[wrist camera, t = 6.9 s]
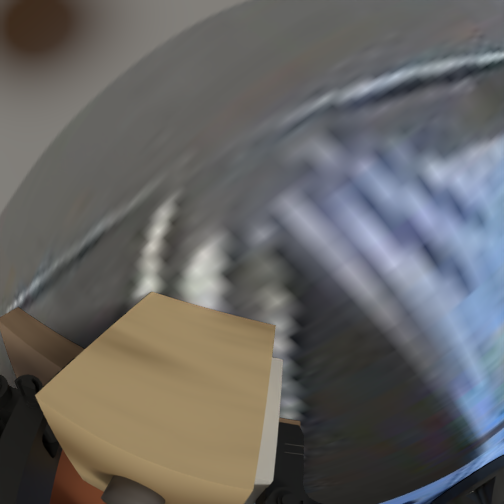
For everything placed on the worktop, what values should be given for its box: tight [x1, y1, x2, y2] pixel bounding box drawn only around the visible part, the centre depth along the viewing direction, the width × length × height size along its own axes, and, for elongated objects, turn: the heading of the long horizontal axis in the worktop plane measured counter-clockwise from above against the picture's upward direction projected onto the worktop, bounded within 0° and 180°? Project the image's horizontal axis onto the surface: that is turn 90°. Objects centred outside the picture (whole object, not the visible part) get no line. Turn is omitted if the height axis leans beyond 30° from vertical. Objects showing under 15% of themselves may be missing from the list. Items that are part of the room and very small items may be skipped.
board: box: [0, 307, 300, 427], centre depth 14 cm, size 7×22×3 cm, turn 77°
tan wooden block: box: [35, 292, 276, 504], centre depth 9 cm, size 12×6×9 cm, turn 168°
